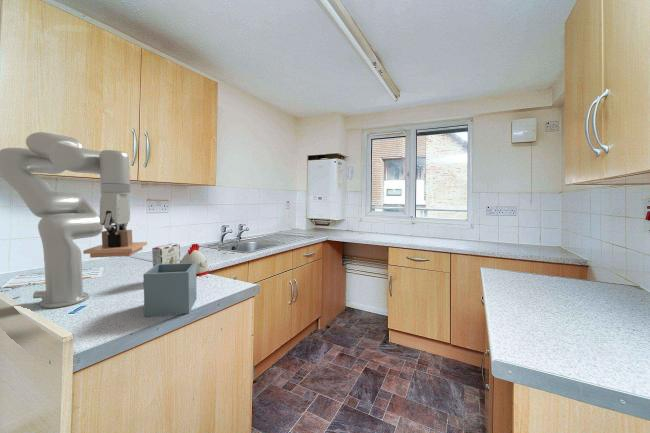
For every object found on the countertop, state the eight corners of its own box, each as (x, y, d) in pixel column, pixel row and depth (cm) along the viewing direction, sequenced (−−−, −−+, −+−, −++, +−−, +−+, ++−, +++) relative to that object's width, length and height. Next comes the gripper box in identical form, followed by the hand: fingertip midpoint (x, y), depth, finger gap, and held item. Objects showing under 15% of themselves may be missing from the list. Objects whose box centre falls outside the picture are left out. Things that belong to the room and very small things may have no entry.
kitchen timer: (214, 270, 140) (214, 242, 139) (198, 278, 127) (198, 247, 125) (189, 269, 142) (189, 241, 141) (171, 276, 128) (171, 245, 127)
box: (144, 317, 86) (143, 274, 85) (157, 301, 98) (157, 264, 97) (189, 313, 89) (188, 272, 88) (196, 298, 102) (196, 262, 101)
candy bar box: (171, 277, 127) (171, 243, 126) (181, 278, 126) (180, 243, 125) (152, 284, 116) (151, 247, 115) (162, 285, 115) (161, 248, 114)
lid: (83, 258, 80) (82, 233, 80) (105, 250, 92) (104, 229, 92) (132, 256, 84) (131, 232, 83) (147, 248, 96) (146, 228, 95)
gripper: (114, 189, 93) (116, 241, 95) (86, 188, 77) (89, 251, 79) (139, 190, 95) (140, 241, 97) (117, 189, 80) (119, 250, 81)
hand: (117, 245), depth 88 cm, fingers closed on lid, 3 cm apart
